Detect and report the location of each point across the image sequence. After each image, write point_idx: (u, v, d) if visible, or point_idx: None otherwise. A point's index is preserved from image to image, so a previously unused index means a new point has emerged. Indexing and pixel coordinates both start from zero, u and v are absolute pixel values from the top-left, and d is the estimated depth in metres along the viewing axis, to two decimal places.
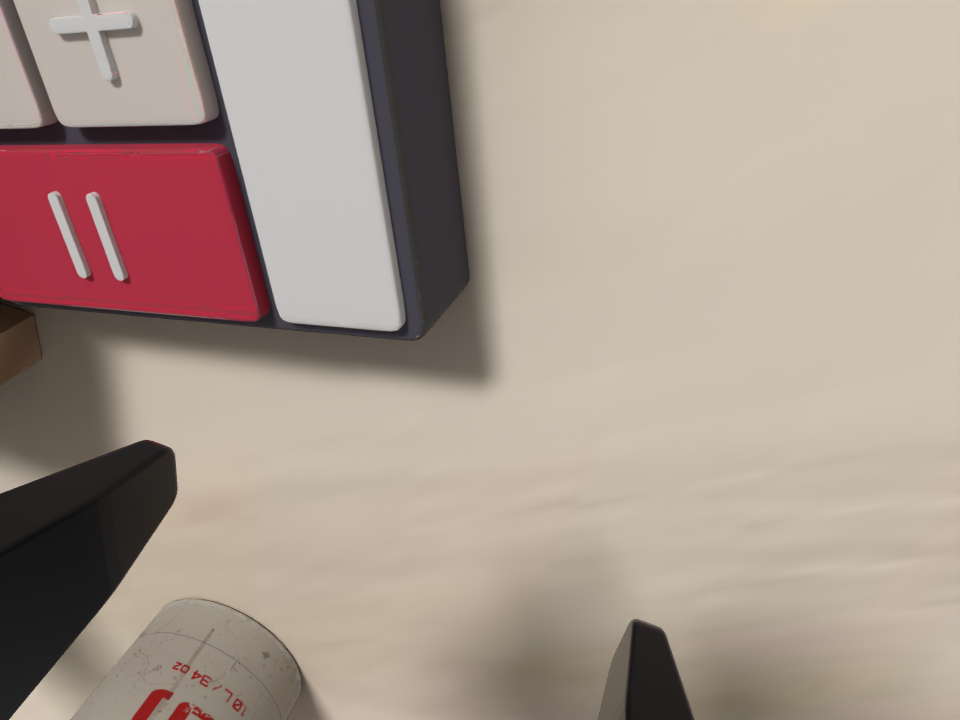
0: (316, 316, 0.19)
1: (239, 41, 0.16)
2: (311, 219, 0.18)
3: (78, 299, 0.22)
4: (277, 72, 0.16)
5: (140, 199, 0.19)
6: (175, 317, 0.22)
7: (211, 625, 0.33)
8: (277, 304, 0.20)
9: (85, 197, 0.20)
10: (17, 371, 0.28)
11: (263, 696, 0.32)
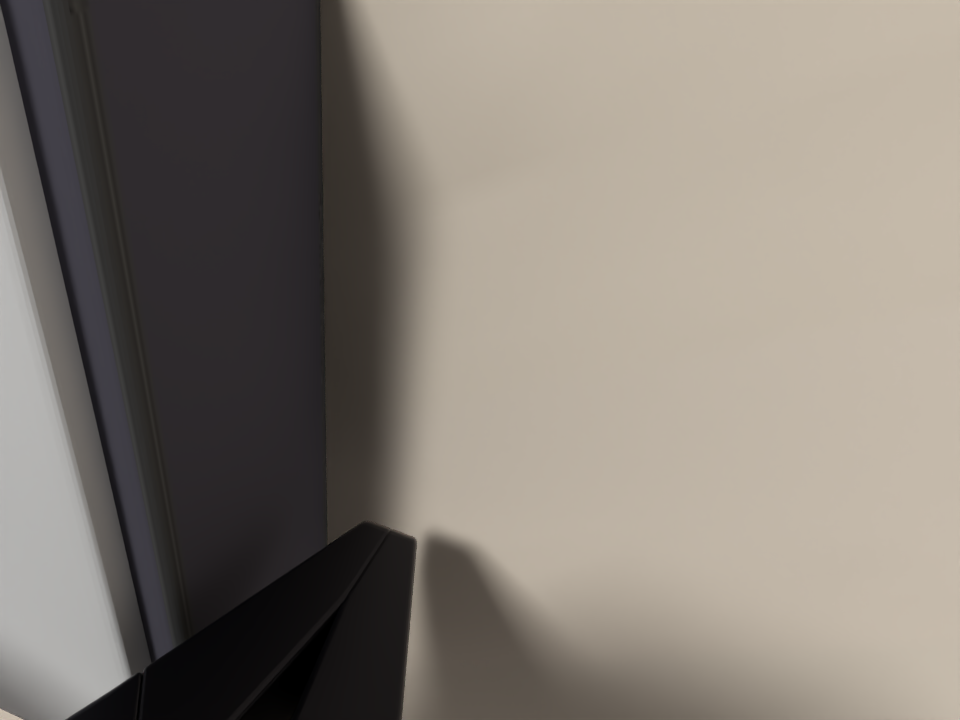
0: (2, 703, 0.10)
1: None
2: None
3: None
4: None
5: None
6: None
7: None
8: None
9: None
10: None
11: None
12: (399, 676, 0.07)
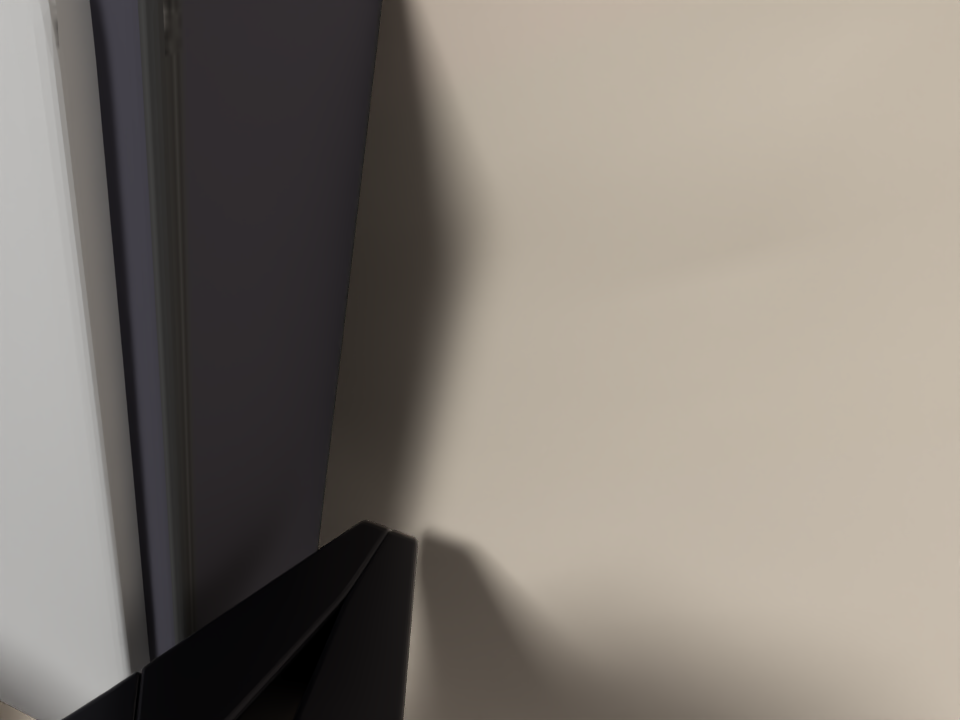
0: None
1: None
2: None
3: None
4: None
5: None
6: None
7: None
8: None
9: None
10: None
11: None
12: (401, 676, 0.07)
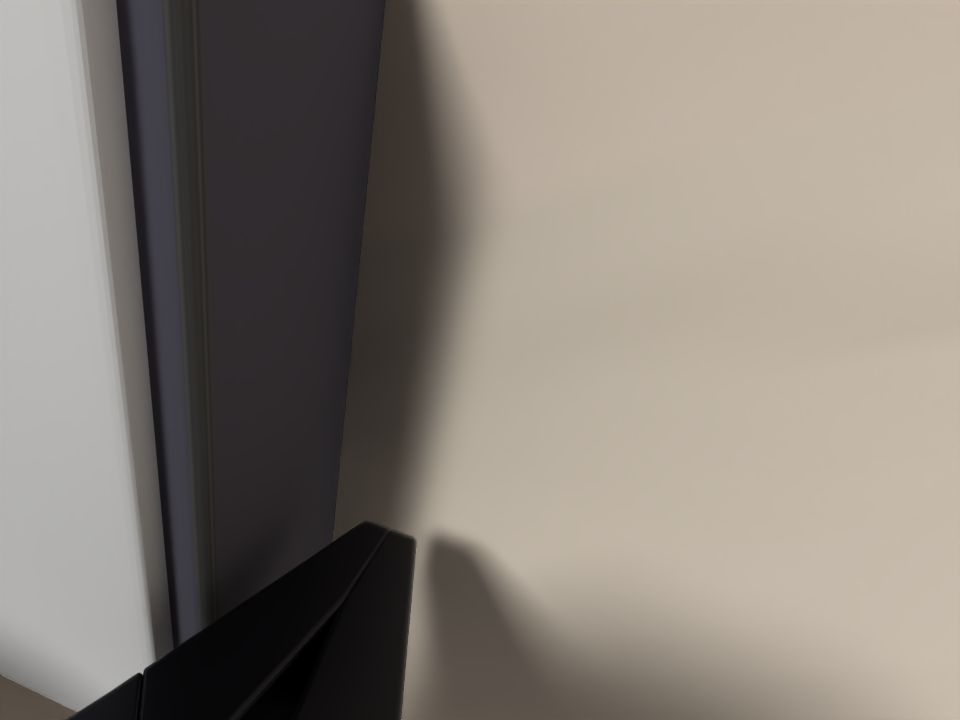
0: (7, 671, 0.10)
1: None
2: (1, 555, 0.08)
3: None
4: None
5: None
6: None
7: None
8: None
9: None
10: None
11: None
12: (399, 675, 0.07)
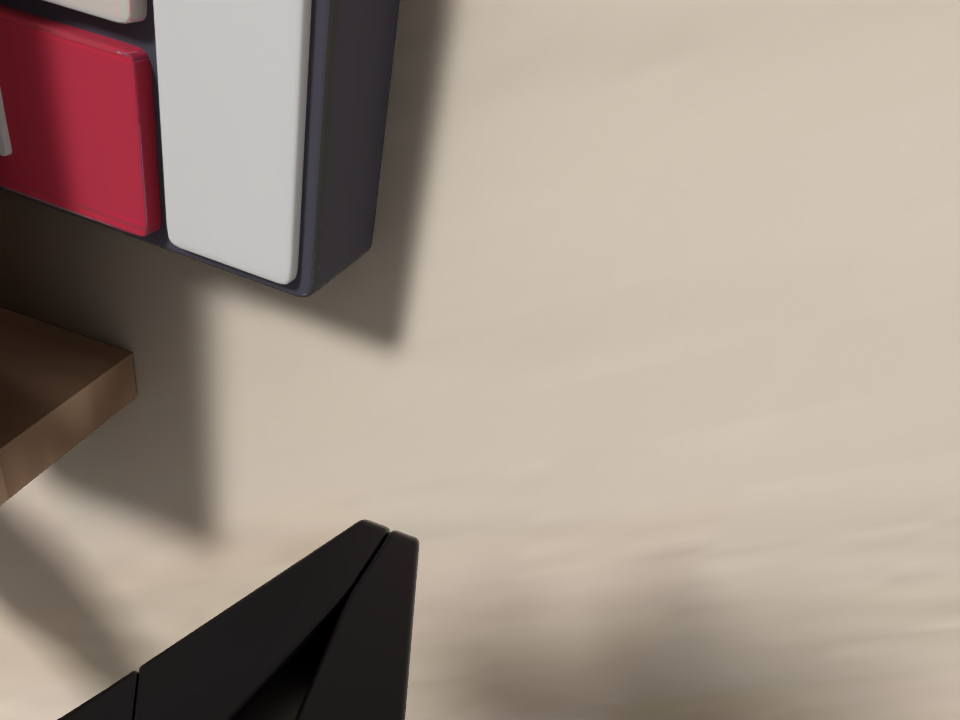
0: (206, 248, 0.19)
1: None
2: (221, 154, 0.17)
3: None
4: None
5: (41, 79, 0.18)
6: (56, 207, 0.20)
7: None
8: (168, 226, 0.19)
9: None
10: (115, 411, 0.27)
11: None
12: (402, 677, 0.07)
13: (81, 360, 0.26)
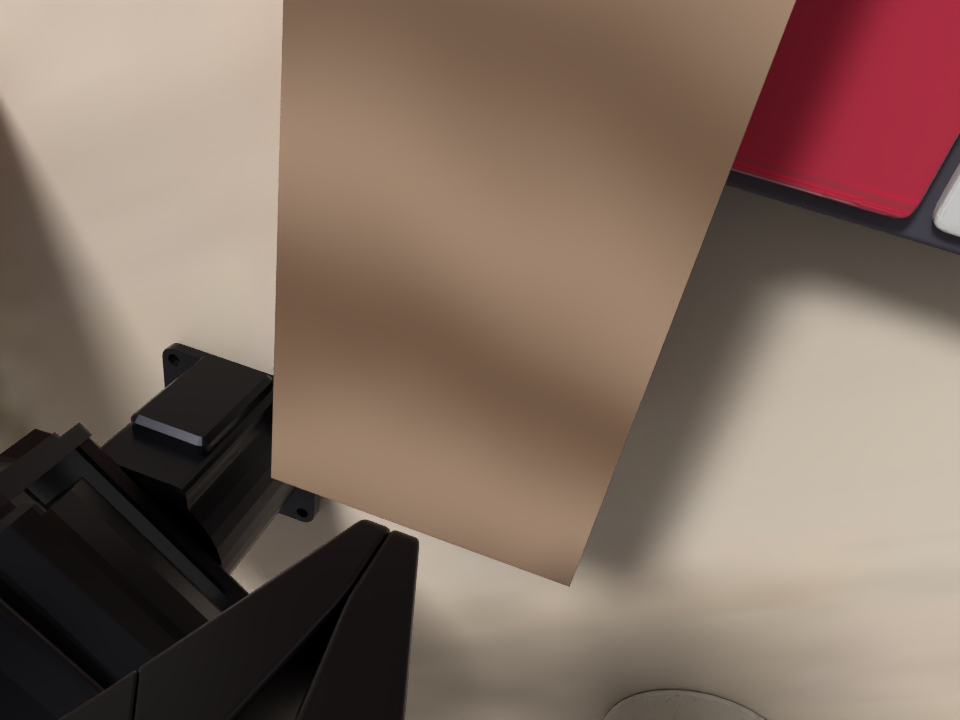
0: None
1: None
2: None
3: None
4: None
5: (849, 7, 0.13)
6: (732, 181, 0.16)
7: None
8: (948, 204, 0.15)
9: None
10: None
11: None
12: (402, 677, 0.07)
13: None
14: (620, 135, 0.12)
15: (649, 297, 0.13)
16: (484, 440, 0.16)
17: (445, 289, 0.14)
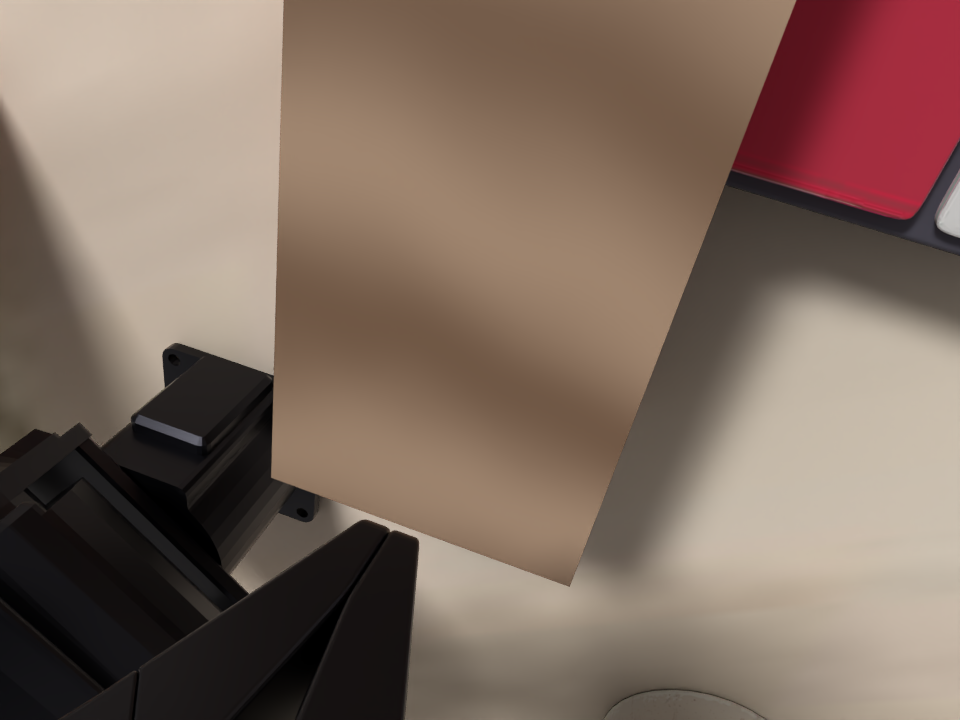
0: None
1: None
2: None
3: None
4: None
5: (853, 8, 0.13)
6: (734, 182, 0.16)
7: None
8: (950, 206, 0.15)
9: None
10: None
11: None
12: (402, 677, 0.07)
13: None
14: (620, 135, 0.12)
15: (649, 297, 0.13)
16: (484, 440, 0.16)
17: (445, 289, 0.14)
